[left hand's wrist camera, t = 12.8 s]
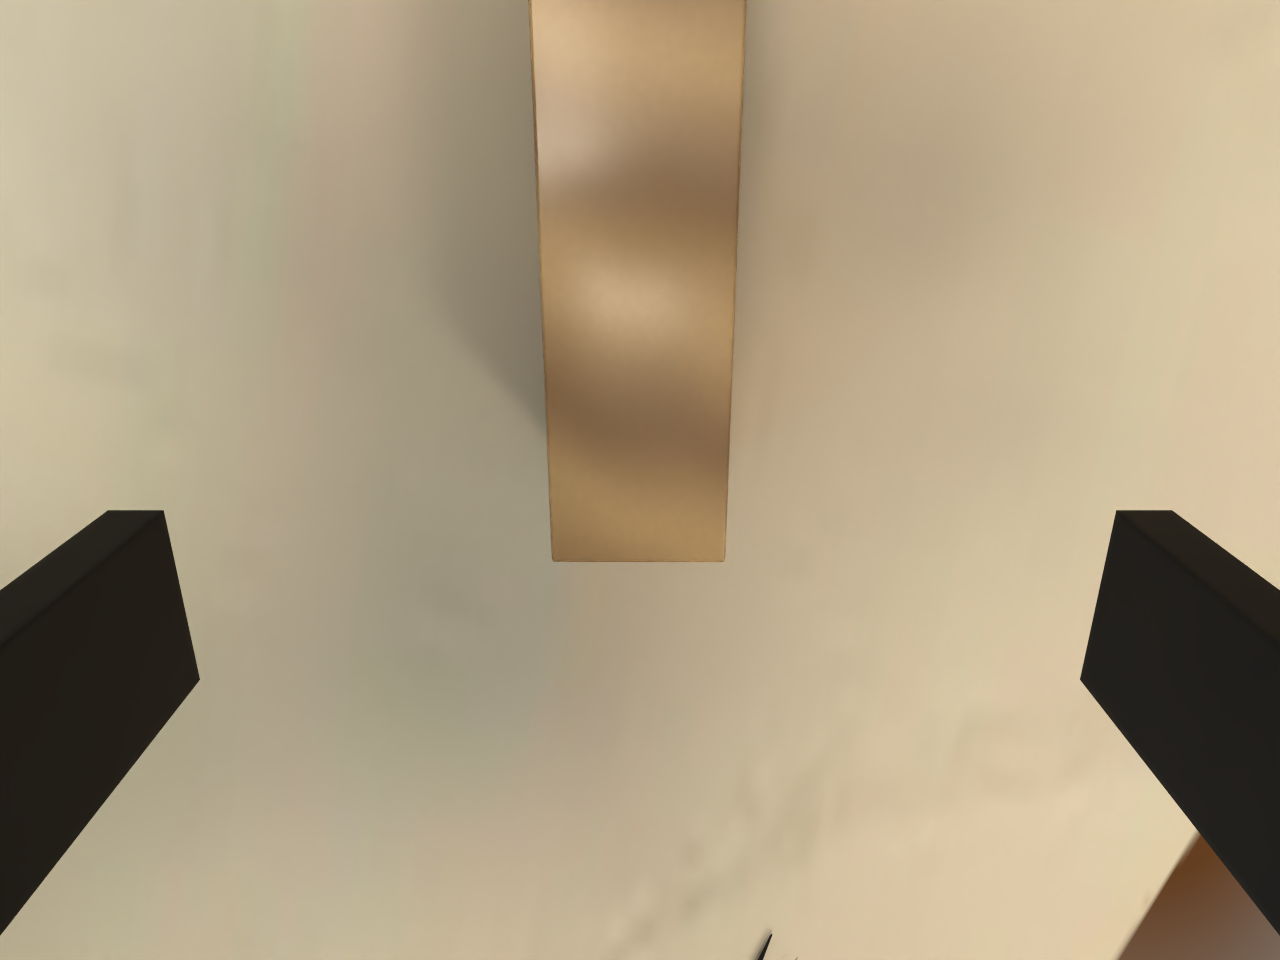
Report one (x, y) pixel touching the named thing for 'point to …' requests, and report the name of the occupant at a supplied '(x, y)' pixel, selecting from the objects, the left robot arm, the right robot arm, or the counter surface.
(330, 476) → the counter surface
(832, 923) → the counter surface
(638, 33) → the post
